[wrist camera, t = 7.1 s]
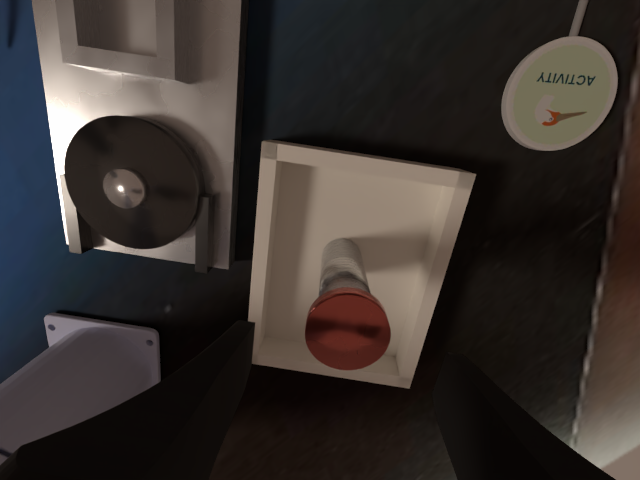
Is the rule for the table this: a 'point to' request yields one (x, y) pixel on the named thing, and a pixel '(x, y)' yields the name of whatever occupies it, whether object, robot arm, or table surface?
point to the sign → (560, 91)
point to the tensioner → (146, 123)
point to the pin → (346, 312)
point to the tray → (366, 232)
